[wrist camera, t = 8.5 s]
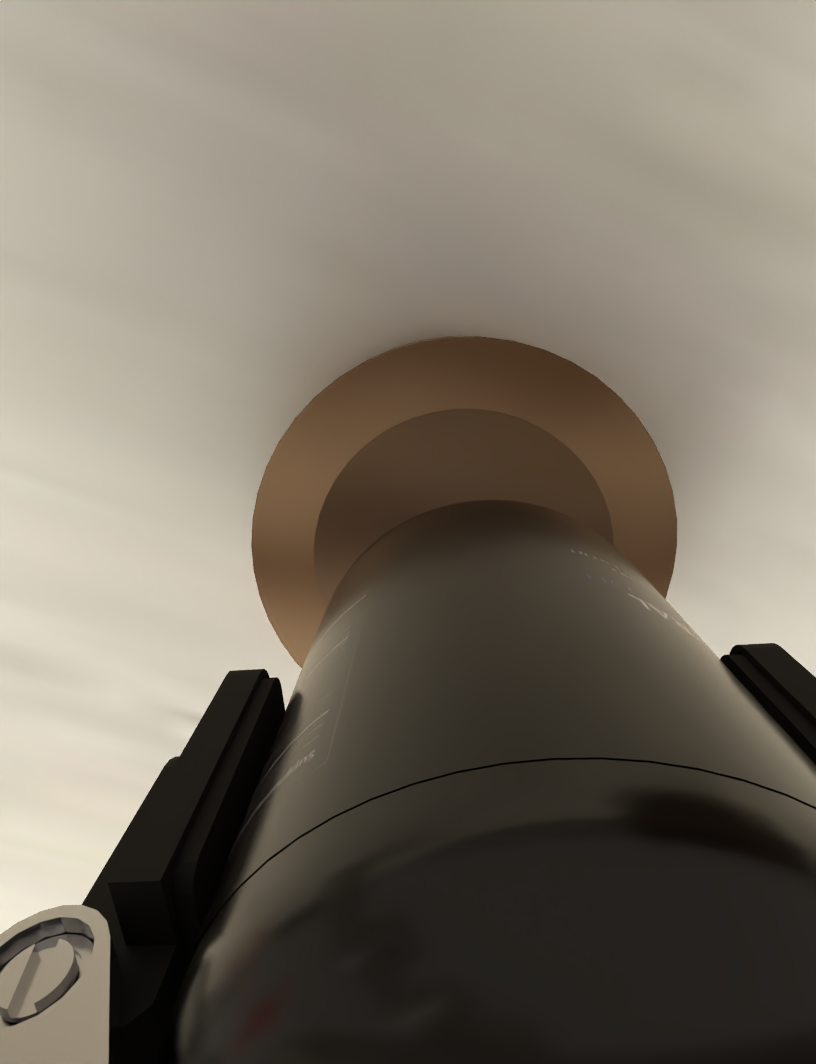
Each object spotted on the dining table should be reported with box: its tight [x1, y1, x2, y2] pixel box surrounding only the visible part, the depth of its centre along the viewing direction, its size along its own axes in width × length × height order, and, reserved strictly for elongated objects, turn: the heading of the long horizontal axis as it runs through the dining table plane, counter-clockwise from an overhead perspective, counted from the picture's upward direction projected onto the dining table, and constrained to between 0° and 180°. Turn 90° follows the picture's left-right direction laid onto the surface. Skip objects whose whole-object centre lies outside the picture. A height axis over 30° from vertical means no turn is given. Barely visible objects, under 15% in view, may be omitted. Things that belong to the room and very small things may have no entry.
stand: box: [252, 336, 677, 668], centre depth 18 cm, size 12×12×2 cm
